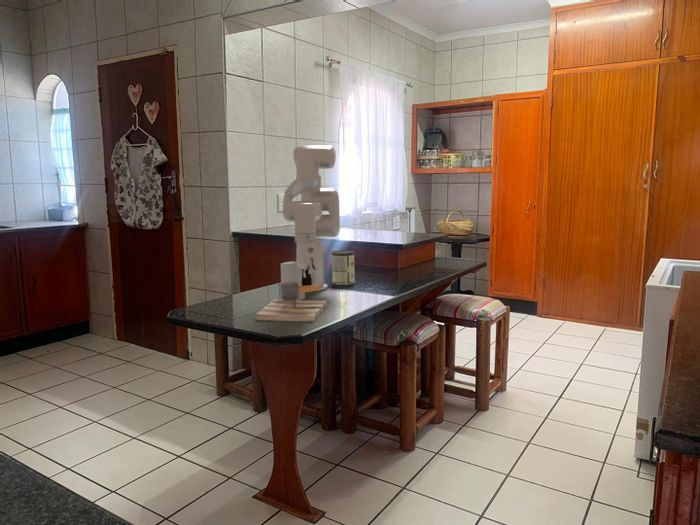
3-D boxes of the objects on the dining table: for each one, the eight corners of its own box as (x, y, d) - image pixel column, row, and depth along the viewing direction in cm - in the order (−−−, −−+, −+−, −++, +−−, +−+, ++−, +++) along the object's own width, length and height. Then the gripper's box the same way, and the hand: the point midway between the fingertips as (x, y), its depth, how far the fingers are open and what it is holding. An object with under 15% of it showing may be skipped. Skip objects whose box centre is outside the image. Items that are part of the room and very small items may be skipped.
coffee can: (333, 280, 250) (333, 250, 248) (355, 280, 249) (355, 250, 247) (330, 284, 240) (330, 253, 238) (353, 284, 239) (353, 253, 237)
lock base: (274, 304, 204) (274, 291, 203) (326, 306, 201) (326, 292, 200) (255, 320, 182) (255, 305, 181) (314, 321, 179) (313, 306, 178)
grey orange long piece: (284, 300, 187) (283, 286, 186) (279, 297, 192) (278, 283, 191) (322, 296, 192) (321, 282, 192) (316, 293, 198) (315, 279, 197)
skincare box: (293, 302, 207) (292, 264, 204) (280, 301, 210) (279, 263, 207) (305, 298, 214) (304, 261, 212) (293, 296, 217) (292, 260, 214)
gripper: (322, 239, 187) (324, 291, 190) (308, 234, 201) (309, 283, 204) (302, 240, 184) (303, 293, 187) (288, 236, 198) (290, 285, 201)
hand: (306, 287), depth 196 cm, fingers closed
